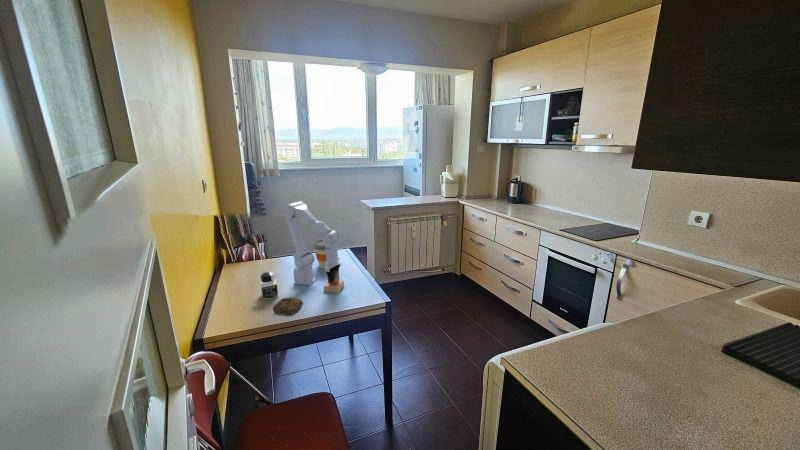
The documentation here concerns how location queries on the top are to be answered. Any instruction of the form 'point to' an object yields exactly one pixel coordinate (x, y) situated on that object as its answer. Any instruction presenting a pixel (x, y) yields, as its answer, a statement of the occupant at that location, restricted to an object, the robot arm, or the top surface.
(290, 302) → the bread roll
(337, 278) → the walnut block
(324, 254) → the reusable coffee cup
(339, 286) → the terracotta tile
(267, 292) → the medicine bottle
